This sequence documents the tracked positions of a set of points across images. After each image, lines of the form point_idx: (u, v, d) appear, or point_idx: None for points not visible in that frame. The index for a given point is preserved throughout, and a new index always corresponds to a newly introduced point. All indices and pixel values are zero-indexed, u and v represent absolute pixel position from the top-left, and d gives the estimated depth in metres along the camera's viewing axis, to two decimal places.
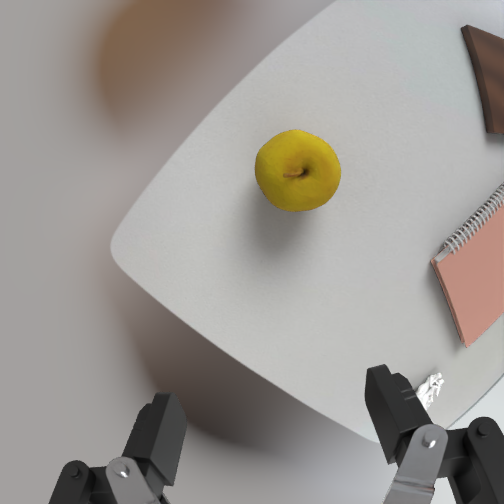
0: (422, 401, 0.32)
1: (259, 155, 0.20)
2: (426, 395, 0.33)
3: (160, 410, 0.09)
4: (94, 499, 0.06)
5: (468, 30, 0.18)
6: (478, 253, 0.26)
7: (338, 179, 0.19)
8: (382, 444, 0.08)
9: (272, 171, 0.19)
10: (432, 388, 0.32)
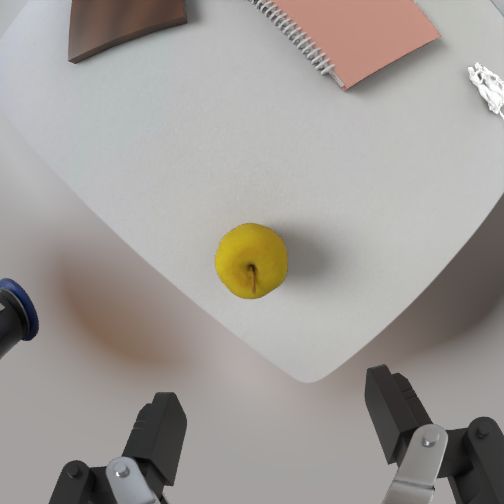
0: (497, 92, 0.21)
1: None
2: (490, 86, 0.21)
3: (160, 410, 0.09)
4: (94, 499, 0.06)
5: (74, 58, 0.22)
6: (331, 29, 0.21)
7: (257, 237, 0.22)
8: (382, 444, 0.08)
9: (251, 295, 0.23)
10: (484, 77, 0.21)
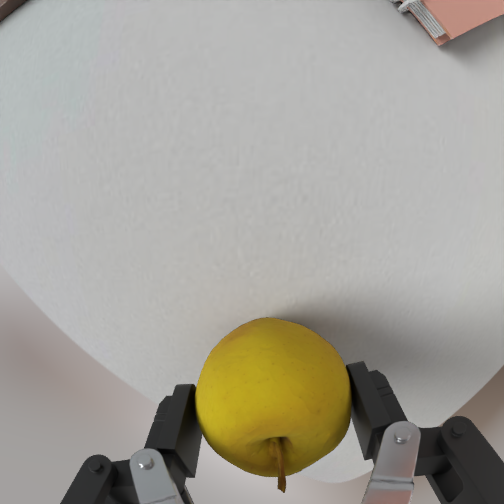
0: None
1: None
2: None
3: (182, 401, 0.10)
4: (114, 494, 0.06)
5: None
6: None
7: (295, 389, 0.08)
8: (359, 440, 0.09)
9: (273, 476, 0.09)
10: None
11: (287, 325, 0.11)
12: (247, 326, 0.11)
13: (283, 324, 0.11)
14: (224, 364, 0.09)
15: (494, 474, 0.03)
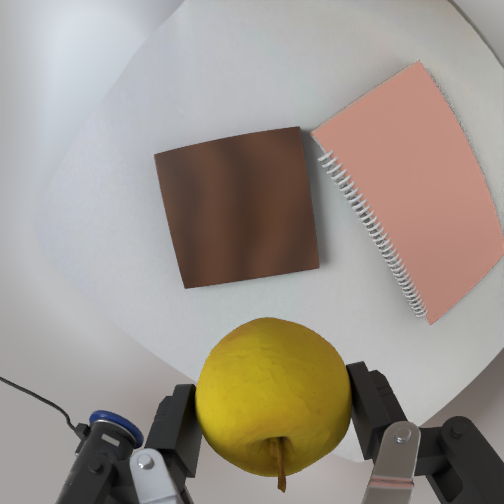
0: None
1: None
2: None
3: (182, 401, 0.10)
4: (113, 494, 0.06)
5: None
6: (434, 278, 0.29)
7: (295, 389, 0.08)
8: (359, 440, 0.09)
9: None
10: None
11: (287, 325, 0.11)
12: (247, 326, 0.11)
13: (283, 324, 0.11)
14: (224, 364, 0.09)
15: (494, 474, 0.03)
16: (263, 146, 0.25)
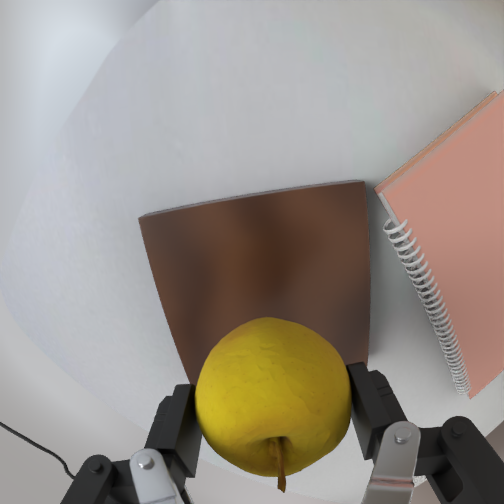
0: None
1: None
2: None
3: (182, 401, 0.10)
4: (113, 494, 0.06)
5: None
6: (485, 356, 0.20)
7: (295, 389, 0.08)
8: (359, 440, 0.09)
9: None
10: None
11: (287, 325, 0.11)
12: (247, 326, 0.11)
13: (283, 324, 0.11)
14: (224, 364, 0.09)
15: (494, 474, 0.03)
16: (310, 212, 0.17)
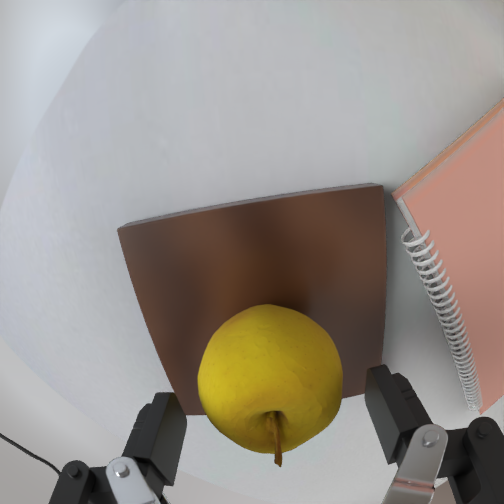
0: None
1: None
2: None
3: (160, 410, 0.09)
4: (94, 499, 0.06)
5: None
6: (499, 372, 0.17)
7: (288, 364, 0.09)
8: (382, 444, 0.08)
9: (271, 453, 0.10)
10: None
11: (282, 310, 0.12)
12: (246, 311, 0.12)
13: (279, 309, 0.12)
14: (225, 343, 0.10)
15: None
16: (318, 222, 0.14)
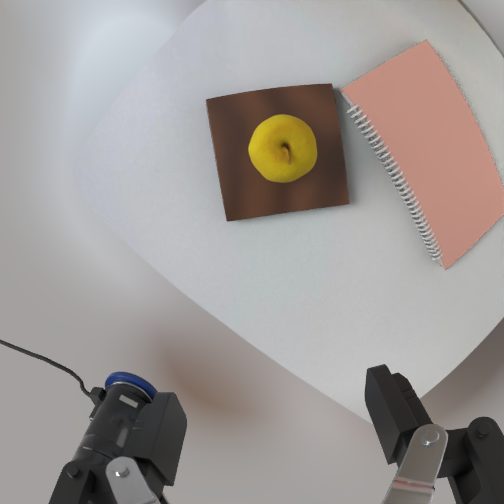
0: None
1: (271, 179, 0.26)
2: None
3: (160, 410, 0.09)
4: (94, 499, 0.06)
5: None
6: (447, 223, 0.31)
7: (290, 118, 0.23)
8: (382, 444, 0.08)
9: (285, 171, 0.24)
10: None
11: None
12: None
13: None
14: (264, 121, 0.24)
15: None
16: (302, 97, 0.28)
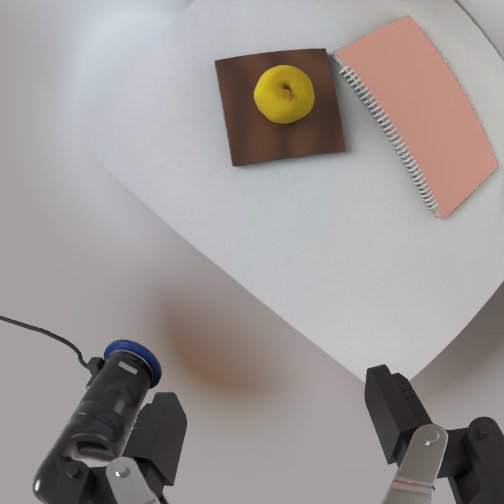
0: None
1: (274, 118, 0.27)
2: None
3: (160, 410, 0.09)
4: (94, 499, 0.06)
5: (239, 164, 0.34)
6: (439, 174, 0.33)
7: (290, 66, 0.24)
8: (382, 444, 0.08)
9: (287, 107, 0.25)
10: None
11: None
12: None
13: None
14: None
15: None
16: (299, 59, 0.29)
